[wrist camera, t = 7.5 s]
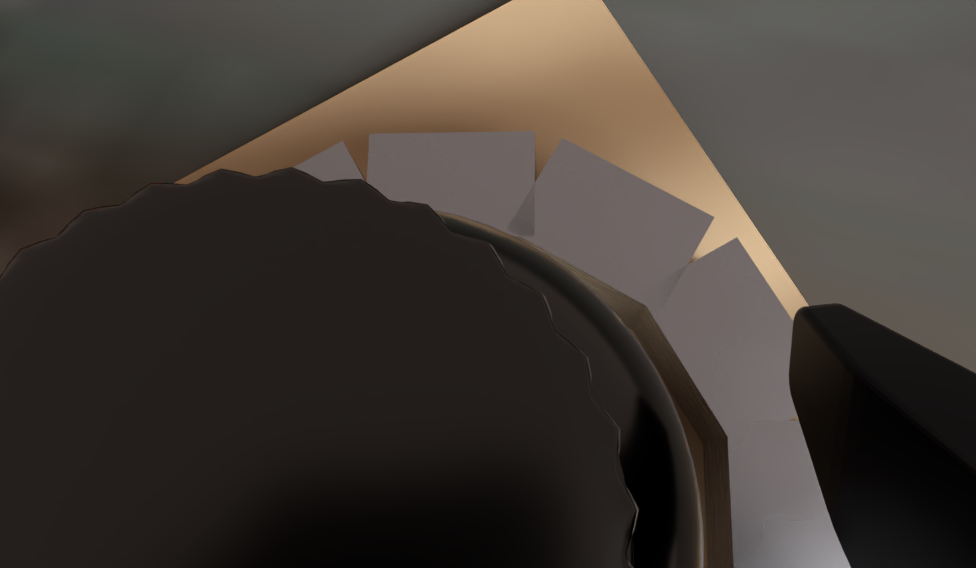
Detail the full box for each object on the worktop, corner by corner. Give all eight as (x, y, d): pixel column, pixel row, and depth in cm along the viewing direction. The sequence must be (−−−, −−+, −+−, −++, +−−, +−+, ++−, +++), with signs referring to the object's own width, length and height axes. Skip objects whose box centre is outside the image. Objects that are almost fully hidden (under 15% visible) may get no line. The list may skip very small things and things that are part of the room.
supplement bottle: (561, 761, 15) (591, 1654, 4) (223, 620, 16) (-611, 959, 5) (674, 400, 17) (963, 198, 5) (355, 290, 18) (-31, -95, 6)
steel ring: (966, 660, 15) (1040, 691, 13) (298, 1061, 14) (249, 1170, 12) (580, 69, 18) (584, 9, 16) (21, 375, 18) (-60, 358, 15)
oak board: (1079, 733, 15) (1106, 746, 15) (405, 1146, 15) (397, 1183, 14) (577, -15, 20) (578, -36, 19) (37, 277, 19) (15, 268, 18)
